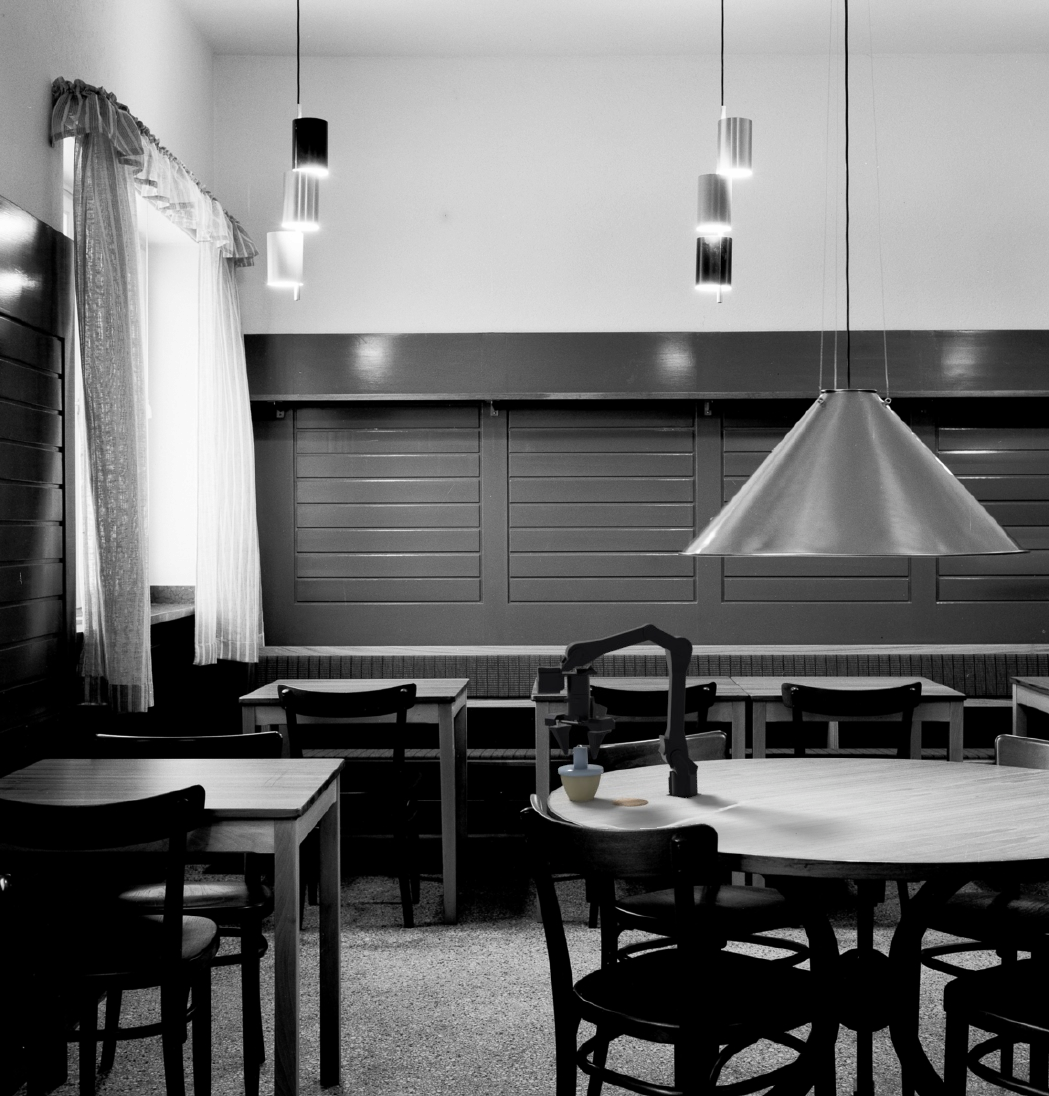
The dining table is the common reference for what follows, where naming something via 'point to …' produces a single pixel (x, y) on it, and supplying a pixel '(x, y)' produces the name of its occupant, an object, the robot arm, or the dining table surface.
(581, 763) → the lid
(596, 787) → the flower pot
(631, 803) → the disc
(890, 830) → the dining table surface
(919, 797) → the dining table surface
